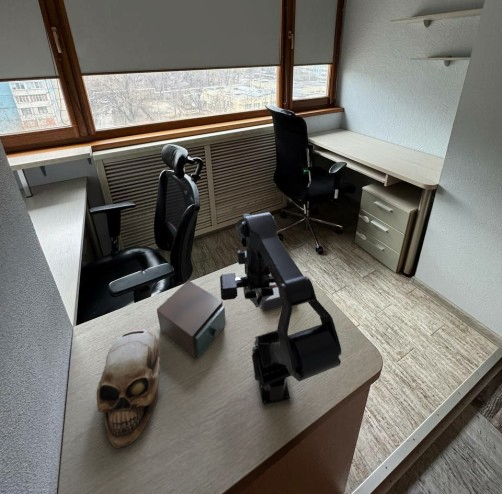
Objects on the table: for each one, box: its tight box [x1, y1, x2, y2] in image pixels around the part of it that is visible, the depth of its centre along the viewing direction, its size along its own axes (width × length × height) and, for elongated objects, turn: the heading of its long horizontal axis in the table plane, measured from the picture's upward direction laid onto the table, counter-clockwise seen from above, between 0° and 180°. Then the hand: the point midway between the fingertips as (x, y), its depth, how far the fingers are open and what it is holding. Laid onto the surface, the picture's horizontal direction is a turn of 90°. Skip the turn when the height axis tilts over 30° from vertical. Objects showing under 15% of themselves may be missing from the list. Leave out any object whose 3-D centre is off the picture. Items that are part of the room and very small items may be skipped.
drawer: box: [194, 305, 226, 358], centre depth 76 cm, size 14×11×7 cm
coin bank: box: [96, 329, 161, 449], centre depth 62 cm, size 16×17×13 cm
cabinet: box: [156, 279, 224, 360], centre depth 77 cm, size 14×12×9 cm
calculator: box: [255, 273, 282, 312], centre depth 90 cm, size 11×4×15 cm
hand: (257, 305), depth 70 cm, fingers closed
